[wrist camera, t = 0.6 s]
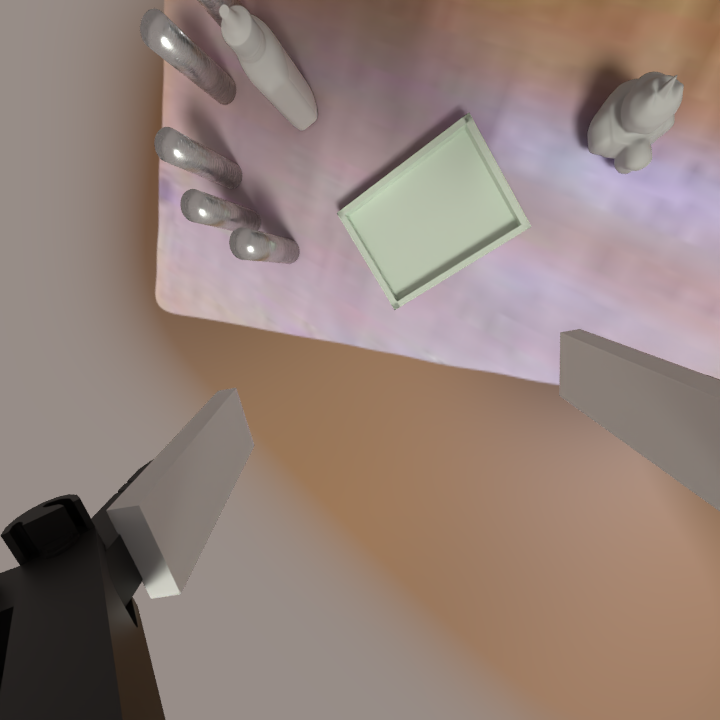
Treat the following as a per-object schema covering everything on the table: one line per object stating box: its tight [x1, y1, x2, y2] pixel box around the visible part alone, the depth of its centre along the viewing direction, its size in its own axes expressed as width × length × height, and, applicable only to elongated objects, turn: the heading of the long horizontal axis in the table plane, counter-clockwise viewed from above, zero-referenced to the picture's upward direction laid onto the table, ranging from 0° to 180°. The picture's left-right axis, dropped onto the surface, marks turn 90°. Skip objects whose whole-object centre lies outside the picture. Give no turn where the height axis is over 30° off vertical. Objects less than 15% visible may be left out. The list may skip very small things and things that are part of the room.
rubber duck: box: [587, 72, 684, 174], centre depth 25 cm, size 5×7×8 cm
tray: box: [337, 113, 531, 310], centre depth 32 cm, size 14×11×2 cm
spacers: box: [140, 0, 299, 264], centre depth 32 cm, size 7×23×9 cm, turn 9°
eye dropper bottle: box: [219, 4, 318, 131], centre depth 28 cm, size 4×6×12 cm
